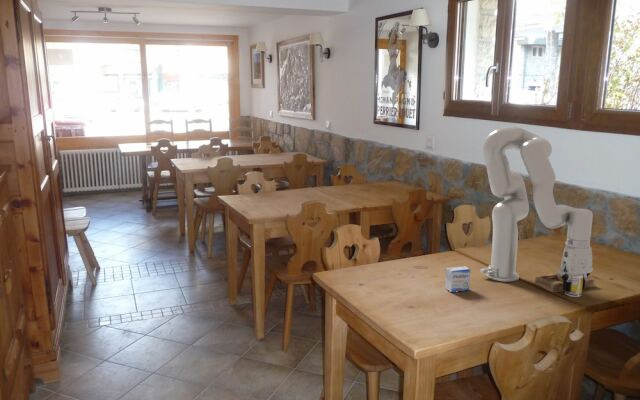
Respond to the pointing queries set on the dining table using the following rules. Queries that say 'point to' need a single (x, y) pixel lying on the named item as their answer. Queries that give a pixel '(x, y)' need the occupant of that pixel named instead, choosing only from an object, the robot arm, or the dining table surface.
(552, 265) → the dining table surface
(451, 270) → the medicine box
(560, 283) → the divided well tray
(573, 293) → the supplement bottle
